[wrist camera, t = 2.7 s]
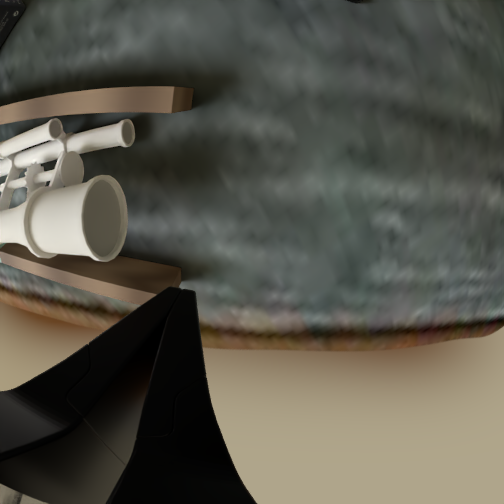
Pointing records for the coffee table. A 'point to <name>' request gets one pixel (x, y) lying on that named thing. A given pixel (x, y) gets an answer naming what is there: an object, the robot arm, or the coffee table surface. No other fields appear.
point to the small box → (9, 16)
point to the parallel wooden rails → (84, 267)
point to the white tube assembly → (63, 193)
